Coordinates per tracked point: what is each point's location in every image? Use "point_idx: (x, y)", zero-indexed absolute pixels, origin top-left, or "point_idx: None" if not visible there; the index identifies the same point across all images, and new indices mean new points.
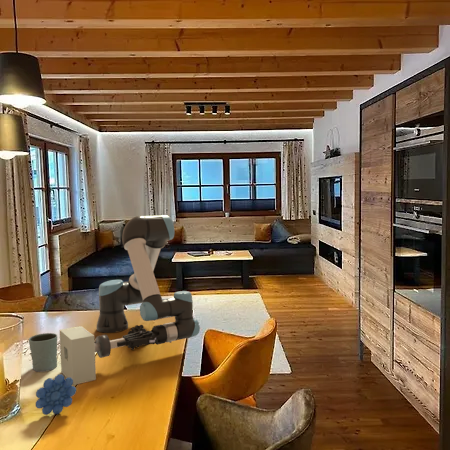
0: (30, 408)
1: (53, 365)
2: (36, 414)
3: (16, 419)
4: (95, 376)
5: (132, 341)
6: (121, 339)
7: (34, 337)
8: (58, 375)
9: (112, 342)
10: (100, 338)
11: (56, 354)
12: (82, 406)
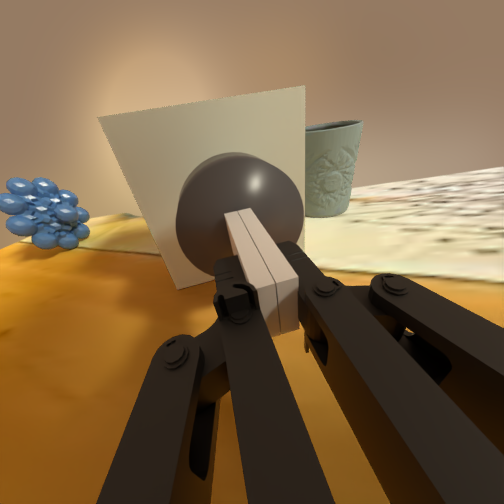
0: (135, 222)
1: (306, 208)
2: (105, 230)
3: (116, 218)
4: (173, 281)
5: (148, 394)
6: (248, 265)
7: (338, 126)
8: (14, 178)
9: (230, 232)
10: (200, 164)
11: (322, 187)
12: (51, 274)
